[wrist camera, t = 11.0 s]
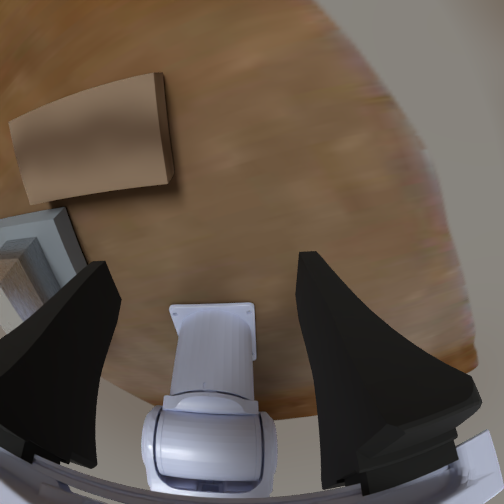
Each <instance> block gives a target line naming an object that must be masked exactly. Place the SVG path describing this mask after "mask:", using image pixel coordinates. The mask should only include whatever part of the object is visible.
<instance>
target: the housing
mask: <svg viewBox="0 0 504 504" xmlns="http://www.w3.org/2000/svg"><path fill="white" fill-rule="evenodd" d="M60 289H61V287H60V285H59V283H58V281H57V279H56V277H55V275H54V273H53V271H52V269H51V267H50V265H49V263H48V261H47V259H46V257H45V255H44V252H43V250H42V248H41V246H40V243H39V241H38V239H37V237H29V238H21V239H13V240H7V241H6V242H5V243H4V244H3V245H2V247H1V248H0V326H1V327H2V329H3V330H4V331H5V333H6V334H8V333H10V332H11V331H12V330H14V329H15V328H16V327H18V326H19V325H20V324H22V323H23V322H24V321H25V320H27V319H28V318H29V317H30V316H31V315H33V314H34V313H35V312H36V311H37V310H38V309H39V308H40V307H41V306H43V305H44V304H45V303H46V302H47V301H48V300H49V299H50V298H51V297H53V296H54V295H55V294H56V293H57V292H58V291H59V290H60Z"/></svg>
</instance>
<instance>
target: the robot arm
mask: <svg viewBox="0 0 504 504" xmlns="http://www.w3.org/2000/svg"><path fill="white" fill-rule="evenodd" d="M295 295H296V303H297V310H298V317H299V322H300V326H301V330H302V334H303V338H304V342H305V346H306V349H307V353H308V357H309V361H310V365H311V369H312V374H313V379H314V386H315V394H316V403H317V412H318V422H319V435H320V449H321V450H320V451H321V481H322V489H323V490H325V489H330V488H335V487H340V486H345V487H342V488H337V489H332V490H327V491H320V492H314V493H307V494H300V495H291V496H280V497H270V493H271V492H272V490H273V477H274V474H275V471H276V467H277V453H278V450H277V434H276V428H275V423H274V421H273V419H272V418H271V417H270V416H269V415H268V414H267V412H258V401H254V383H253V361H254V360H256V335H255V311H254V304H253V303H249V302H247V303H222V304H178V305H171V306H170V308H169V311H170V314H171V317H172V320H173V323H174V325H175V328H176V331H177V334H178V336H179V338H178V344H177V350H176V356H175V363H174V369H173V376H172V383H171V390H170V396H168V395H165V396H164V401H163V406H160V405H156V406H155V407H154V408H153V409H152V410H151V411H150V412H149V413H148V414H147V416H146V419H145V421H144V425H143V430H142V441H141V443H142V444H141V446H142V447H141V448H142V457H143V461H144V464H145V466H146V471H147V480H148V484H149V486H150V490H144V489H140V488H135V487H130V486H126V485H122V484H117V483H114V482H110V481H106V480H103V479H99V478H96V477H93V476H90V475H86V474H83V473H80V472H77V471H75V470H72V469H69V468H66V467H64V466H61V465H60V461H61V462H63V463H67V464H69V463H70V462H72V463H75V464H78V465H81V466H84V467H87V468H90V469H92V468H94V467H95V466H97V458H96V457H97V456H96V442H95V419H96V405H97V396H98V388H99V382H100V376H101V372H102V368H103V365H104V361H105V358H106V355H107V352H108V349H109V345H110V342H111V339H112V336H113V333H114V330H115V327H116V324H117V320H118V315H119V310H120V305H121V300H122V299H121V297H120V295H119V293H118V290H117V288H116V286H115V283H114V281H113V279H112V276H111V274H110V271H109V269H108V266H107V264H106V261H93V262H91V263H90V264H88V265H87V266H86V267H85V268H83V269H82V270H81V271H80V272H79V273H78V274H76V275H75V276H74V277H73V278H72V279H71V280H70V281H69V282H68V283H67V284H65V285H64V286H63V287H62V288H61V289H60V290H59V291H58V292H57V293H56V294H55V295H54V296H53V297H51V298H50V299H49V300H48V301H47V302H46V303H45V304H44V305H43V306H41V307H40V308H39V309H38V310H37V311H36V312H35V313H34V314H33V315H31V316H30V317H29V318H28V319H27V320H25V321H24V322H23V323H22V324H20V325H19V326H18V327H16V328H15V329H14V330H12V331H11V332H10V333H8V334H7V335H5V336H4V337H3V338H1V339H0V504H107V503H105V502H102V501H98V500H95V499H92V498H88V497H86V496H82V495H79V494H76V493H73V492H71V490H70V488H69V486H68V485H70V486H72V487H75V488H77V489H80V490H83V491H85V492H88V493H91V494H94V495H97V496H101V497H104V498H107V499H111V500H114V501H118V502H122V503H125V504H484V503H486V502H487V501H488V500H490V499H491V498H492V497H494V496H495V495H496V494H498V493H499V492H500V491H501V490H503V488H504V485H503V479H502V475H501V471H500V467H499V463H498V459H497V455H496V452H495V448H494V445H493V442H492V438H491V435H490V432H489V430H487V429H486V430H484V431H483V432H481V433H479V434H478V435H476V436H474V437H472V438H470V439H468V440H466V441H465V442H463V443H461V444H459V445H457V446H456V447H455V444H454V439H456V438H457V436H458V435H457V431H456V427H457V426H458V425H460V424H461V423H463V422H464V421H465V420H466V419H468V418H469V417H470V416H472V415H473V414H474V413H475V412H476V411H477V410H478V409H479V408H480V406H481V404H482V400H481V397H480V395H479V392H478V390H477V388H476V386H475V383H474V381H473V379H472V377H471V376H470V375H468V374H466V373H464V372H461V371H459V370H457V369H455V368H453V367H451V366H449V365H447V364H445V363H444V362H442V361H440V360H438V359H437V358H435V357H433V356H432V355H430V354H428V353H427V352H425V351H424V350H422V349H421V348H419V347H417V346H416V345H414V344H413V343H412V342H410V341H409V340H407V339H406V338H405V337H403V336H402V335H400V334H399V333H398V332H396V331H395V330H394V329H393V328H391V327H390V326H389V325H388V324H387V323H385V322H384V321H383V320H382V319H381V318H379V317H378V316H377V315H376V314H375V313H374V312H372V311H371V310H370V309H369V308H368V307H367V306H366V305H365V304H364V303H363V302H362V301H361V300H360V299H359V298H358V297H357V296H356V295H355V294H354V293H353V292H352V291H351V290H350V289H349V288H348V286H347V285H346V284H345V283H344V282H343V281H342V280H341V279H340V278H339V277H338V276H337V274H336V273H335V272H334V271H333V270H332V269H331V267H330V266H329V265H328V264H327V263H326V262H325V260H324V259H323V258H322V257H321V256H320V255H319V254H318V253H317V252H316V251H310V252H299V260H298V272H297V283H296V294H295Z"/></svg>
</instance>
